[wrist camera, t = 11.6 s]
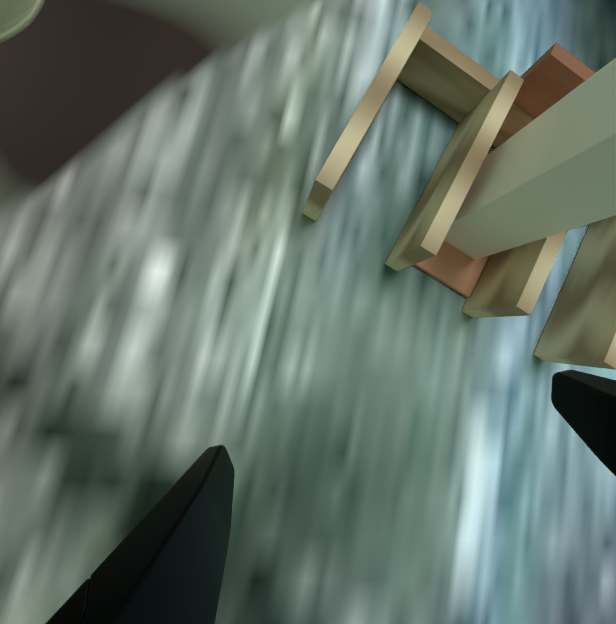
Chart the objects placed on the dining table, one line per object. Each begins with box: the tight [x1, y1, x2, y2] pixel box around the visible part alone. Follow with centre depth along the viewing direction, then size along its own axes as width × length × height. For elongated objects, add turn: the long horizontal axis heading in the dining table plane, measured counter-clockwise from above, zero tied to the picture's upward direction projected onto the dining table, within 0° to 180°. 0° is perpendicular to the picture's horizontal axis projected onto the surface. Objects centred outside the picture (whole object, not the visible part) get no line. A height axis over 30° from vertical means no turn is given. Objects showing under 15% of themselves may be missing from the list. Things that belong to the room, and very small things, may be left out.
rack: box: [303, 2, 616, 369], centre depth 18 cm, size 13×20×6 cm, turn 61°
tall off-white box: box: [444, 58, 616, 260], centre depth 15 cm, size 5×4×13 cm
